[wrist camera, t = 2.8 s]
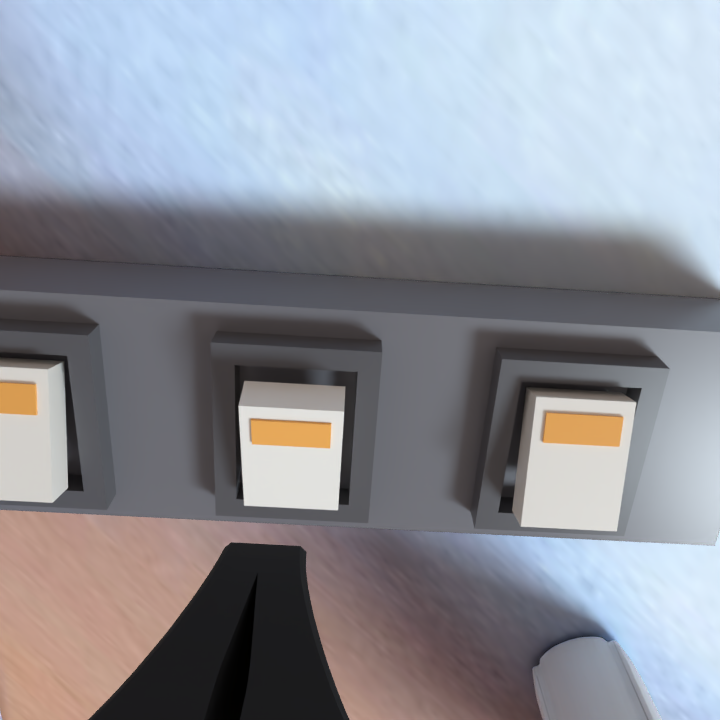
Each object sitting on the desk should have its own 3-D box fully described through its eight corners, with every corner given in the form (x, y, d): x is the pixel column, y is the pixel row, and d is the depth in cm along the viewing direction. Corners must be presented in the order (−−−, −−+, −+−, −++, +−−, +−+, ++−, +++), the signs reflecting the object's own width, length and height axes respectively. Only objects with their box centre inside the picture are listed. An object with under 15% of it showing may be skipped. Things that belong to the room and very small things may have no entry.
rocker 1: (-27, 483, 19) (-50, 498, 18) (-35, 355, 18) (-59, 364, 17) (67, 488, 19) (51, 504, 18) (64, 361, 18) (46, 369, 17)
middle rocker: (249, 479, 20) (243, 507, 19) (244, 380, 17) (237, 407, 17) (339, 483, 20) (337, 512, 19) (345, 386, 18) (344, 413, 17)
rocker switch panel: (-82, 449, 23) (-160, 519, 20) (-130, 247, 20) (-231, 287, 17) (827, 497, 24) (907, 572, 20) (905, 309, 21) (1013, 360, 18)
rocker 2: (512, 510, 19) (521, 527, 18) (526, 387, 18) (536, 397, 17) (603, 515, 19) (618, 532, 18) (621, 392, 18) (637, 403, 17)
